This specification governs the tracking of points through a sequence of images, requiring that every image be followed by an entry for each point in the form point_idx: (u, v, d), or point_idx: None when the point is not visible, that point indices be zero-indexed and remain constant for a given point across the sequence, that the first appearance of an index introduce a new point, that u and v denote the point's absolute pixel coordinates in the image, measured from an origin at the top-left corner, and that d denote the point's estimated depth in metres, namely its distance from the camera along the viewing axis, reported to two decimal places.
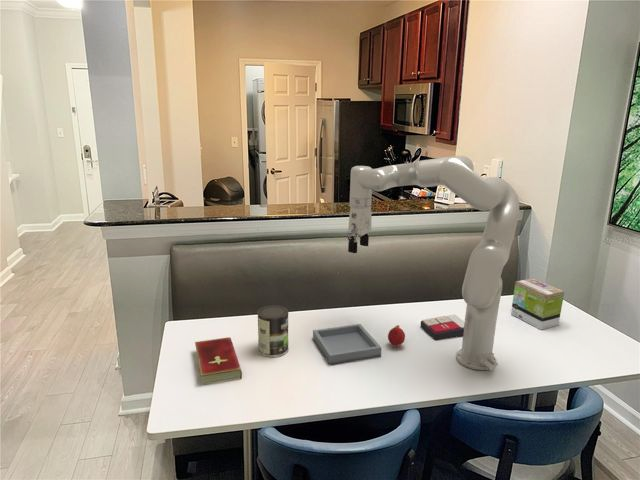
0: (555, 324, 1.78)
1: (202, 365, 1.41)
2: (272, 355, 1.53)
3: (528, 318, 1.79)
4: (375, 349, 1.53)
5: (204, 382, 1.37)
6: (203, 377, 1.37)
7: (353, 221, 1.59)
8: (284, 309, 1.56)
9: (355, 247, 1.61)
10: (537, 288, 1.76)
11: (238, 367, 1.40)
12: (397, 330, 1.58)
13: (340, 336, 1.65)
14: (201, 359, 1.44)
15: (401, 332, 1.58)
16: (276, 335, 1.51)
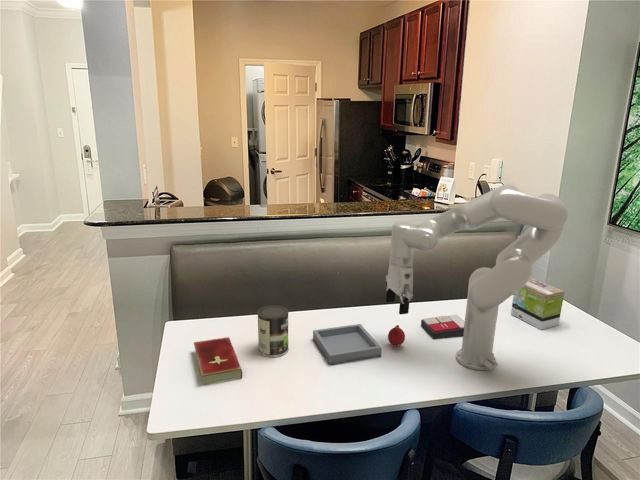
0: (555, 324, 1.78)
1: (202, 365, 1.41)
2: (272, 355, 1.53)
3: (528, 318, 1.79)
4: (375, 349, 1.53)
5: (205, 382, 1.37)
6: (204, 377, 1.37)
7: (406, 282, 1.50)
8: (284, 309, 1.56)
9: None
10: (537, 288, 1.76)
11: (238, 367, 1.41)
12: (397, 330, 1.58)
13: (340, 336, 1.65)
14: (201, 359, 1.44)
15: (401, 332, 1.58)
16: (276, 335, 1.51)
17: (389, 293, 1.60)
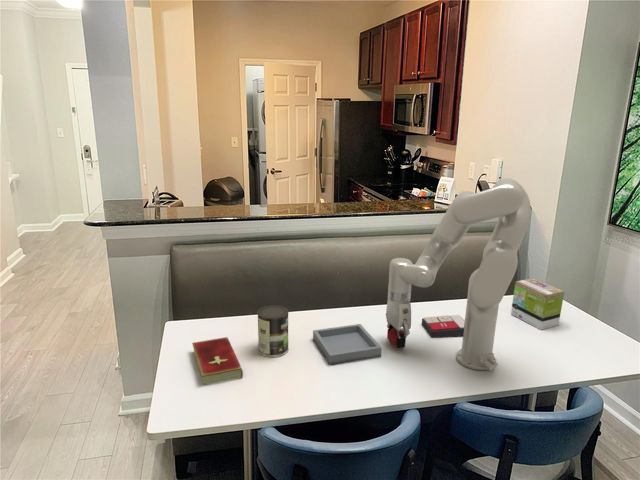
0: (555, 324, 1.78)
1: (202, 366, 1.41)
2: (272, 355, 1.53)
3: (528, 318, 1.79)
4: (375, 349, 1.53)
5: (205, 382, 1.37)
6: (204, 377, 1.37)
7: (404, 317, 1.53)
8: (284, 309, 1.56)
9: (404, 342, 1.57)
10: (537, 288, 1.76)
11: (239, 366, 1.41)
12: None
13: (340, 336, 1.65)
14: (200, 360, 1.44)
15: (401, 332, 1.58)
16: (276, 335, 1.51)
17: None
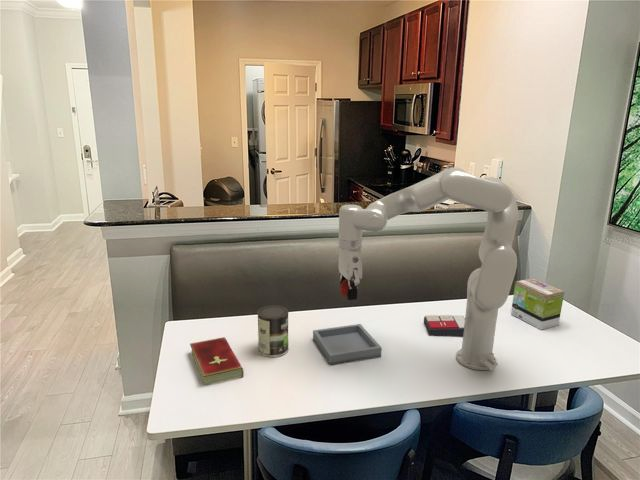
0: (555, 324, 1.78)
1: (202, 366, 1.41)
2: (272, 355, 1.53)
3: (528, 318, 1.79)
4: (375, 349, 1.53)
5: (206, 382, 1.37)
6: (205, 377, 1.37)
7: (355, 265, 1.46)
8: (284, 309, 1.56)
9: (355, 293, 1.51)
10: (537, 288, 1.76)
11: (239, 366, 1.41)
12: None
13: (340, 336, 1.65)
14: (200, 360, 1.44)
15: None
16: (276, 335, 1.51)
17: None
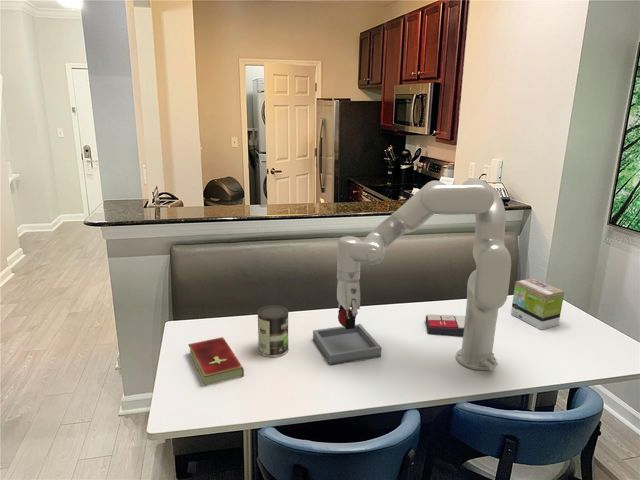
0: (555, 324, 1.78)
1: (202, 366, 1.41)
2: (272, 355, 1.53)
3: (528, 318, 1.79)
4: (375, 349, 1.53)
5: (207, 383, 1.37)
6: (206, 378, 1.37)
7: (353, 296, 1.49)
8: (284, 309, 1.56)
9: (353, 322, 1.54)
10: (537, 288, 1.76)
11: (240, 365, 1.42)
12: None
13: (340, 336, 1.65)
14: (200, 361, 1.44)
15: (351, 312, 1.55)
16: (276, 335, 1.51)
17: None
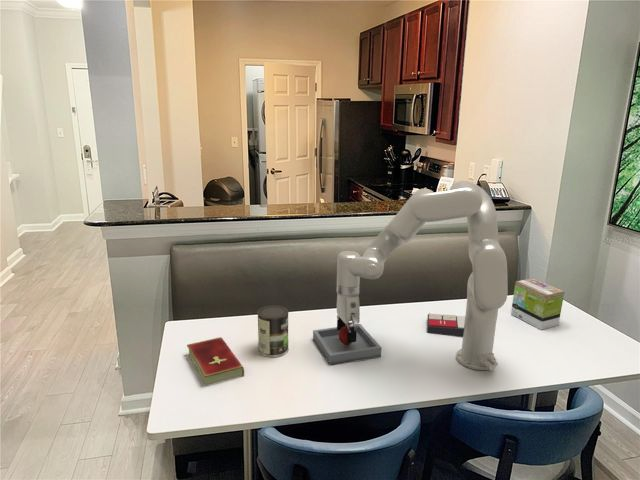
0: (555, 324, 1.78)
1: (202, 366, 1.41)
2: (272, 355, 1.53)
3: (528, 318, 1.79)
4: (375, 349, 1.53)
5: (208, 383, 1.37)
6: (207, 378, 1.37)
7: (352, 311, 1.51)
8: (284, 309, 1.56)
9: (355, 336, 1.54)
10: (537, 288, 1.76)
11: (240, 365, 1.42)
12: (347, 329, 1.56)
13: None
14: (199, 361, 1.44)
15: None
16: (276, 335, 1.51)
17: (340, 321, 1.61)
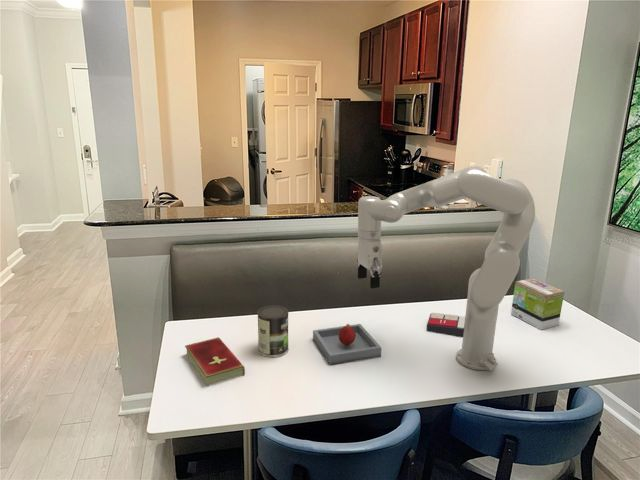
0: (555, 324, 1.78)
1: (203, 367, 1.40)
2: (272, 355, 1.53)
3: (528, 318, 1.79)
4: (375, 349, 1.53)
5: (209, 383, 1.37)
6: (208, 378, 1.37)
7: (375, 255, 1.51)
8: (284, 309, 1.56)
9: None
10: (537, 288, 1.76)
11: (240, 364, 1.42)
12: (347, 329, 1.56)
13: None
14: (199, 361, 1.43)
15: (351, 331, 1.56)
16: (276, 335, 1.51)
17: (360, 269, 1.61)
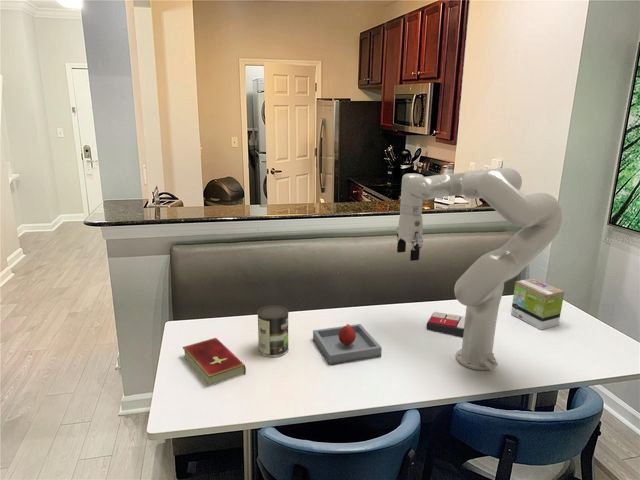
0: (555, 324, 1.78)
1: (204, 367, 1.40)
2: (272, 355, 1.53)
3: (528, 318, 1.79)
4: (375, 349, 1.53)
5: (211, 383, 1.37)
6: (210, 378, 1.36)
7: (416, 229, 1.59)
8: (284, 309, 1.56)
9: (418, 254, 1.62)
10: (537, 288, 1.76)
11: (241, 363, 1.43)
12: (347, 329, 1.56)
13: None
14: (199, 362, 1.43)
15: (351, 331, 1.56)
16: (276, 335, 1.51)
17: (400, 243, 1.70)
